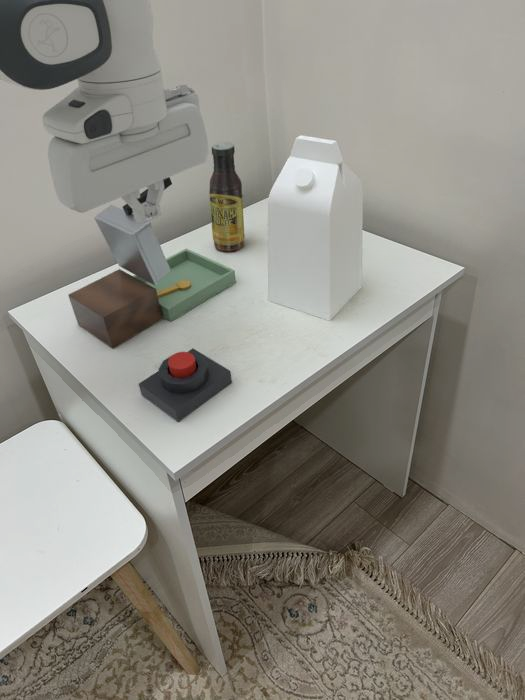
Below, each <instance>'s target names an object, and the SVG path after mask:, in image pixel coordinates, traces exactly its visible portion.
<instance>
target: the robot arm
mask: <svg viewBox="0 0 525 700" xmlns="http://www.w3.org/2000/svg"><path fill="white" fill-rule="evenodd" d="M152 10H153V9H152V4H151V0H0V80H2V81H3V82H6V83H9V84H11V85H15V86H17V87H21V88H24V89H28V90H35V91H45V90H51V89H56V88H59V87H62V86H65V85H66V84H69V83H71V82H74V81H76V80H77V85H78V86H77V87H76V88H74V89H73V91H71V92H70V93H69V94H67V96H65V97H64V98H63V99H61V100H60V101H59V102H58V103H55V105H53V106H52V107H50V108H49V109H48V110H46V111H45V112H44V113H43V115H42V119H41V120H42V125H43V128H44V129H45V132H47V133H48V134H50V135H52V136H53V138H51V140H50V141H49V144H48V149H47V155H48V156H47V158H48V165H49V169H50V175H51V178H52V179H51V180H52V183H53V187H54V191H55V194H56V196H57V199H58V201H59V202H60V203H61V204H62V205H64V206H65V207H67V208H68V209H70V210H72V211H74V212H77V213H81V214H83V213H87V212H89V211H91V210H93V209H96V208H99V207H101V206H103V205H106V204H109V203H110V202H113V201H115V200H117V199H119V198H121V199H122V200H123V201H124V202H125V204H128V205H129V206H130V207H131V208H132V210H133V213H132V214H133V215H134V219H135V220H136V222H138V223H141V224H143V223H145V222H147V221H152V220H153V219H156V218H158V217H160V216H161V215H162V212H161V206H160V203H161V201H162V197H163V194H164V191H165V190H164V182H163V179H166V178H168V177H170V178H171V177H172V176H175V175H178V174H180V173H182V172H185V171H187V170H190V169H192V168H194V167H197V166H200V165H202V164H205V162H207V160H208V156H209V155H210V147H209V141H208V136H207V132H206V127H205V124H204V123H205V122H204V119H203V116H202V113H201V109H200V98H199V95H198V93H197V92H196V90H194V89H193V88H191V87H189V86H188V85H186V84H180V85H177V86H176V87H173V88H166V89H164V88H165V87H164V81H163V75H162V68H161V64H160V61H159V58H158V56H157V54H156V50H155V46H154V42H153V41H154V40H153V34H154V17H153V11H152ZM144 188H147V189H148V188H149V189H148V194H147V199H146V202H144V203H142V204H140V203H139V201H138V200H137V199H138V198H140V194H141V192H140V190H141V189H144Z"/></svg>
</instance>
